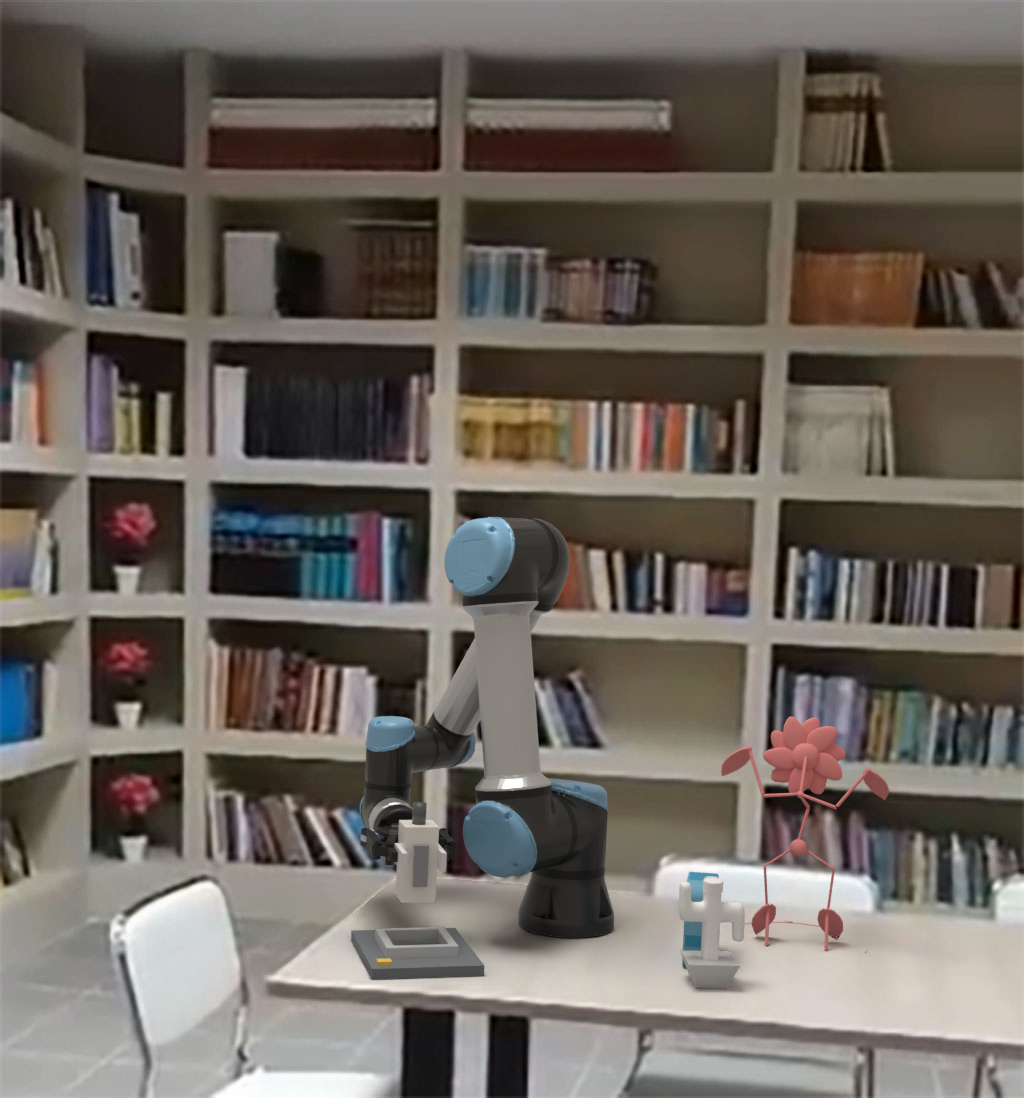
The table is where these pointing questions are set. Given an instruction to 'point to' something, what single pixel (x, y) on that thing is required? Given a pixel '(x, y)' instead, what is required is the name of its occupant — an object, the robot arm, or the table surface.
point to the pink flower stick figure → (803, 764)
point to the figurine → (711, 934)
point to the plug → (418, 857)
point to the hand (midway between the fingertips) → (424, 862)
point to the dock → (416, 953)
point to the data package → (694, 929)
